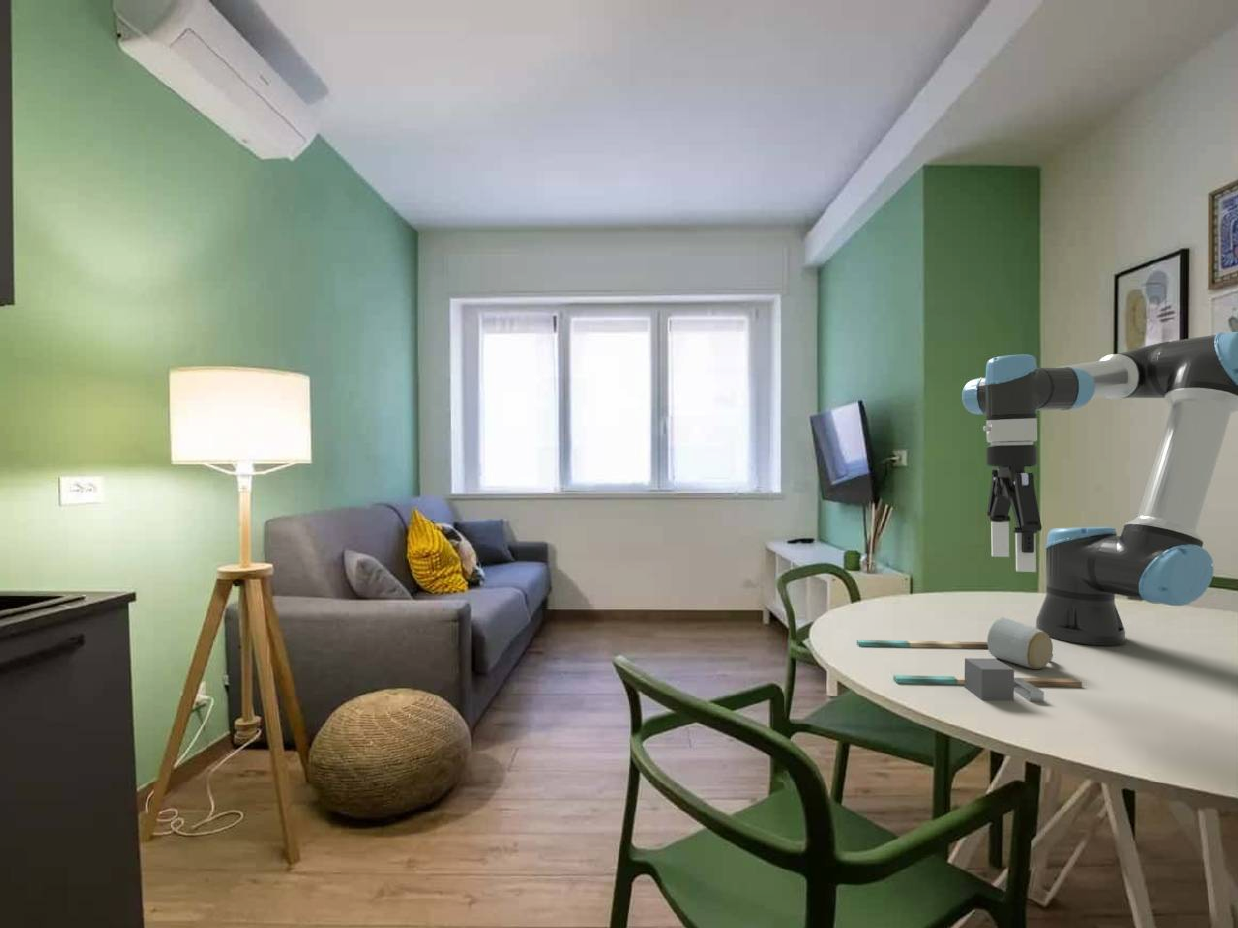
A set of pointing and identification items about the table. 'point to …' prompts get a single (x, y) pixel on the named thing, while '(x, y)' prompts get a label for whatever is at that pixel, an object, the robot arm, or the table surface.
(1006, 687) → the block
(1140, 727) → the table surface
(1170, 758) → the table surface
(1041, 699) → the bar
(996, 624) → the ceramic mug
